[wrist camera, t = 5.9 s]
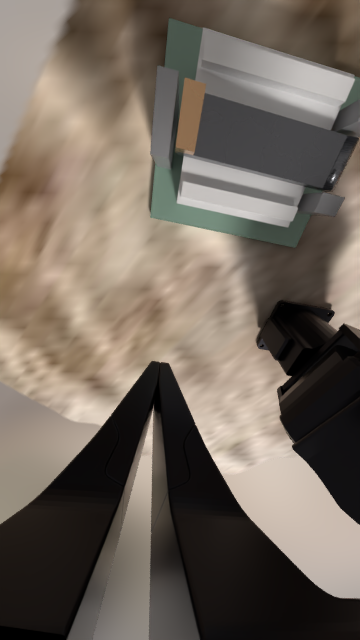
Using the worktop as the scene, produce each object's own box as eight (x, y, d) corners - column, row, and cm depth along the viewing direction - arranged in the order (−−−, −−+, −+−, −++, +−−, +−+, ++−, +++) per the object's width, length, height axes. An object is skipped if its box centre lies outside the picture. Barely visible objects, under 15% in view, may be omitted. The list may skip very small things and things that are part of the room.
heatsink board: (364, 89, 13) (470, 22, 8) (290, 246, 18) (330, 261, 13) (169, 28, 11) (162, -91, 7) (151, 216, 16) (140, 222, 12)
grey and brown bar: (349, 144, 11) (374, 135, 10) (325, 192, 12) (345, 191, 11) (183, 95, 10) (184, 77, 9) (175, 154, 11) (175, 147, 10)
